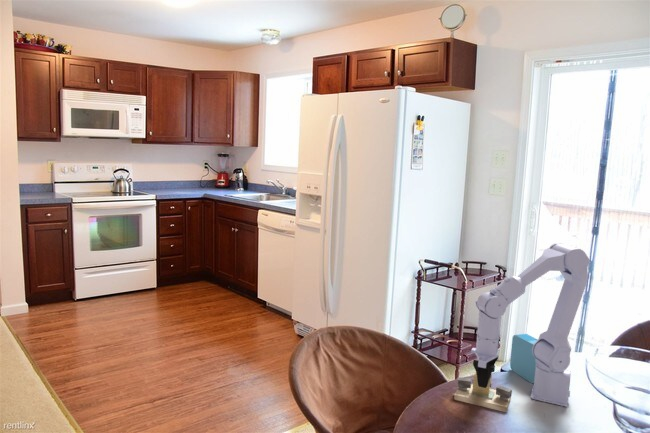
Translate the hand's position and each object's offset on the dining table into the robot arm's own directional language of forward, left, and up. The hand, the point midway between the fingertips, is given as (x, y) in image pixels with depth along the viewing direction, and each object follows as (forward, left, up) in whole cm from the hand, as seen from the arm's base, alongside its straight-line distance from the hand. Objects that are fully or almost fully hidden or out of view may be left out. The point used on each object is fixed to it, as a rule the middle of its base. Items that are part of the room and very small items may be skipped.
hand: (483, 383), depth 142 cm
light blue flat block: (-10, -23, -5) cm, 26 cm away
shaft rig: (0, 0, -5) cm, 5 cm away
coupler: (0, 0, -3) cm, 3 cm away
